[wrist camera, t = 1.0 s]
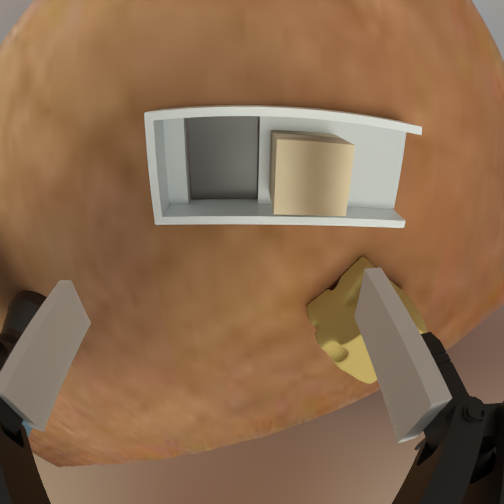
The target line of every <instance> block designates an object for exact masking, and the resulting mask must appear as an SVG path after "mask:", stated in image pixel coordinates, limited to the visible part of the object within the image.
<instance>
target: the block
mask: <svg viewBox="0 0 504 504" xmlns="http://www.w3.org/2000/svg"><path fill="white" fill-rule="evenodd" d="M354 149H355V145H354V144H352V143H350V142H348V141H346V140H344V139H342V138H340V137H339V136H337V135H335V134H329V133H318V132H304V131H286V130H271V134H270V165H269V194H270V199H271V204H272V209H273V214H276V215H321V216H346V210H347V204H348V197H349V190H350V182H351V175H352V167H353V158H354Z"/></svg>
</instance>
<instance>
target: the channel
mask: <svg viewBox="0 0 504 504" xmlns="http://www.w3.org/2000/svg"><path fill="white" fill-rule="evenodd" d="M144 116H145V133H146V147H147V159H148V169H149V179H150V188H151V197H152V205H153V212H154V220H155V225H179V224H278V225H332V226H365V227H392V228H404V225H405V220H404V219H403V218H402V217H401V216H400V215H399V214H398V213H397V212H396V211H395V210H394V204H395V199H396V194H397V189H398V184H399V178H400V172H401V166H402V159H403V153H404V145H405V137H406V132H409V133H414V134H418V135H421V133H422V127H420V126H417V125H414V124H410V123H407V122H403V121H399V120H394V119H389V118H383V117H378V116H372V115H365V114H359V113H352V112H344V111H336V110H327V109H317V108H306V107H291V106H270V105H214V106H193V107H179V108H167V109H158V110H154V111H149V112H145V113H144ZM258 116H259V157H258ZM187 118H188V133H187ZM271 130H286V131H304V132H318V133H329V134H335V135H337V136H339V137H340V138H342V139H344V140H346V141H348V142H350V143H352V144H354V145H355V149H354V158H353V167H352V175H351V182H350V190H349V197H348V204H347V210H346V216H321V215H276V214H273V209H272V204H271V199H270V194H269V165H270V134H271ZM188 143H189V156H188ZM257 160H258V199H257ZM189 164H190V175H189ZM190 182H191V190H190ZM191 197H192V199H191Z"/></svg>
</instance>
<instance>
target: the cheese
mask: <svg viewBox="0 0 504 504" xmlns="http://www.w3.org/2000/svg"><path fill="white" fill-rule="evenodd" d="M366 268H375V267H374V266H373V265H372V264H371V263H370V262H369V261H368V260H367V259H366V258H365V257H363V256H362V257H361V258H359V259H358V260H357V261H356V262H355V263H354V264H353V265H352V266H351V267H350V268H349V269H348V270H347V271H346V272H345V273H344V274H343V275H342V276H341V278H340V280H339V282H338V284H337V286H336V287H335V289H333V290H330V289H327V290H325V291H324V292H323V293H322V294H320V295H319V296H318V297H317V298H315V299H314V300H313V301H311V302H310V303H309V304H308V307H307V313H308V317H309V319H310V321H311V323H312V324H313V325H314V326H315V327H316V329H317V331H316V332H315V336H316V340H317V342H318V344H319V346H320V347H321V348H322V349H323V350H324V351H325V352H327V353H328V355H329V356H330V357H331V359H332V360H333V362H334V363H335V364H336V365H337V366H338V367H339V368H340V369H342V370H343V371H345V372H347V373H349V374H350V375H352V376H354V377H355V378H357V379H359V380H360V381H362V382H365V383H369V384H371V383H373V382H374V381H376V380H377V376H376V374H375V371H374V368H373V365H372V362H371V360H370V357H369V354H368V351H367V349H366V346H365V343H364V341H363V338H362V336H361V333H360V330H359V328H358V325H357V323H356V320H355V318H354V316H355V312H356V307H357V303H358V299H359V294H360V289H361V285H362V280H363V275H364V270H365V269H366ZM388 280H389V279H388ZM389 281H390V283H391V284H392V286H393V288H394V289H395V291H396V293H397V294H398V296H399V298H400V299H401V301H402V303H403V304H404V306H405V308H406V309H407V311H408V313H409V315H410V316H411V318H412V320H413V322H414V323H415V325H416V327H417V329H418V330H419V332H420V334H423V333H427V329H426V326H425V323H424V320H423V318H422V316H421V314H420V312H419V311H418V309H417V308H416V306H415V305H414V303H413V302H412V300H411V299H410V298H409V297H408V296H407V295H406V294H405V293H404V292H403V291H402V290H401V289H400V288H399V287H398V286H397V285H395V284H394V283H393V282H392V281H391V280H389Z"/></svg>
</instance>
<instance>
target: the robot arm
mask: <svg viewBox="0 0 504 504" xmlns="http://www.w3.org/2000/svg"><path fill="white" fill-rule="evenodd" d="M354 318H355V320H356V323H357V325H358V328H359V330H360V333H361V336H362V338H363V341H364V343H365V346H366V349H367V351H368V354H369V357H370V360H371V362H372V365H373V368H374V371H375V374H376V376H377V379H378V382H379V385H380V388H381V391H382V394H383V397H384V400H385V403H386V406H387V409H388V412H389V415H390V419H391V422H392V425H393V428H394V432H395V435H396V438H397V442H398V443H400V442H404V441H407V440H410V439H413V438H416V437H417V436H418V435H419V434H420V433H421V432H422V431H424V434H425V436H426V437H425V438H424V439H423V440H422V441H421V442H420V443H419V444H418V445H417V446H416V448H415V450H418V449H419V448H420V449H419V451H418V454H417V456H416V458H415V460H414V463H413V465H412V467H411V469H410V471H409V473H408V475H407V477H406V479H405V481H404V483H403V485H402V487H401V488H400V490H399V492H398V494H397V496H396V497H395V499H394V501H393V503H392V504H504V401H503V402H502V403H495V404H483V402H482V401H481V400H480V399H478V398H476V397H472V396H469V394H468V393H467V391H466V389H465V387H464V385H463V383H462V381H461V379H460V377H459V375H458V373H457V371H456V369H455V367H454V365H453V363H452V362H450V358H449V356H448V354H446V350H445V349H444V347H443V345H442V343H441V342H440V340H439V339H438V338H436V337H435V336H434V335H433V334H432V333H431V332H428V333H423V334H420V332H419V330H418V329H417V327H416V325H415V323H414V322H413V320H412V318H411V316H410V315H409V313H408V311H407V309H406V308H405V306H404V304H403V303H402V301H401V299H400V298H399V296H398V294H397V293H396V291H395V289H394V288H393V286H392V284H391V283H390V281H389V280H388V278H387V276H386V275H385V273H384V272H383V270H382V269H381V267H380V268H366V269H365V270H364V275H363V280H362V285H361V289H360V294H359V299H358V303H357V307H356V312H355V316H354ZM90 324H91V322H90V320H89V318H88V316H87V314H86V312H85V310H84V307H83V305H82V303H81V301H80V299H79V297H78V294H77V292H76V290H75V287H74V285H73V283H72V280H60V281H59V282H58V283H57V285H56V286H55V287H54V289H53V290H52V291H51V293H50V294H49V295H48V297H47V298H45V297H43V296H41V295H39V294H37V293H34V292H30V291H22V292H19V293H18V294H17V295H16V296H15V297H14V298H13V300H12V301H11V303H10V304H9V307H8V312H7V315H6V318H5V321H4V324H3V328H2V331H1V333H0V504H51V503H50V501H49V498H48V496H47V494H46V491H45V489H44V486H43V483H42V481H41V478H40V475H39V473H38V470H37V467H36V464H35V460H34V457H33V454H32V451H31V447H30V444H29V440H28V436H29V434H30V432H31V430H32V428H35V429H38V430H40V431H43V432H44V430H45V427H46V424H47V421H48V419H49V416H50V413H51V411H52V408H53V406H54V403H55V401H56V398H57V396H58V393H59V391H60V389H61V386H62V384H63V382H64V379H65V377H66V375H67V372H68V370H69V368H70V366H71V364H72V361H73V359H74V357H75V355H76V353H77V351H78V349H79V347H80V344H81V342H82V340H83V338H84V336H85V334H86V332H87V330H88V328H89V326H90Z"/></svg>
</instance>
